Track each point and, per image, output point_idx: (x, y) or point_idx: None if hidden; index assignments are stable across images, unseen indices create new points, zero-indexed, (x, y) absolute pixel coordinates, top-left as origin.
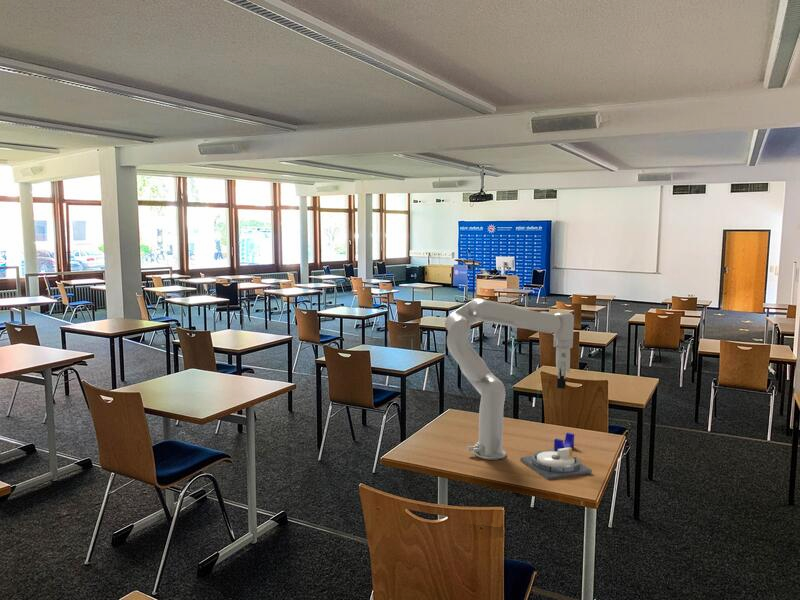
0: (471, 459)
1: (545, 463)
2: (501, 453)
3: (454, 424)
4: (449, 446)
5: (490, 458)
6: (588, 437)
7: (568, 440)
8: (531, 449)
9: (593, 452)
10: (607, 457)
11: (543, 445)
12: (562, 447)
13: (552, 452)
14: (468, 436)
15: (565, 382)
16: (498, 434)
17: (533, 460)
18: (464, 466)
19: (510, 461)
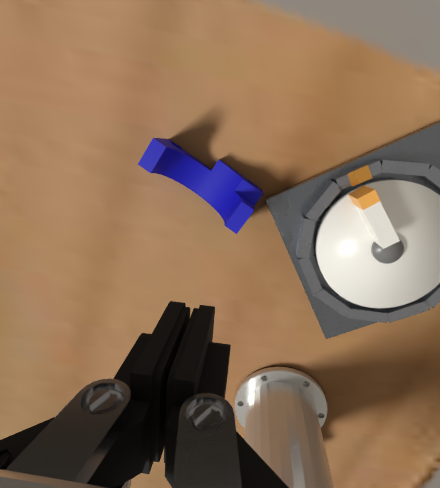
0: None
1: (430, 287)
2: (293, 383)
3: None
4: None
5: (326, 410)
6: (37, 54)
7: (172, 163)
8: (216, 287)
9: (210, 68)
10: (259, 16)
11: (170, 243)
12: (245, 198)
13: (328, 249)
14: None
15: (204, 347)
16: (322, 452)
17: (396, 319)
18: (375, 466)
19: (330, 359)
